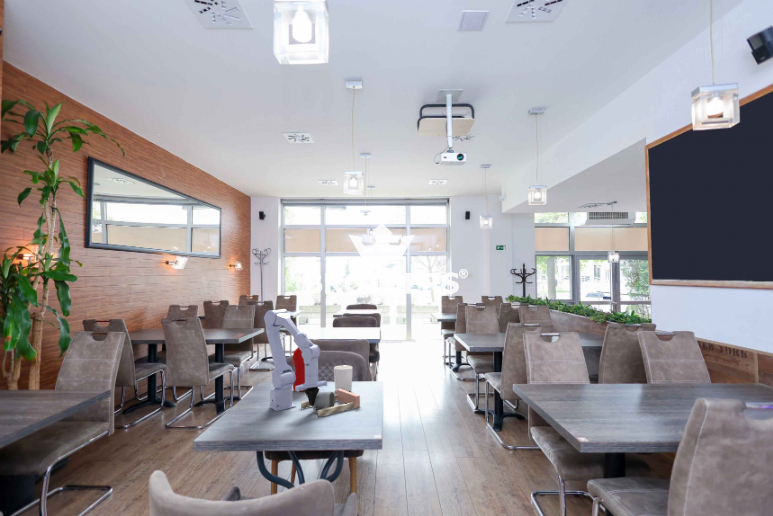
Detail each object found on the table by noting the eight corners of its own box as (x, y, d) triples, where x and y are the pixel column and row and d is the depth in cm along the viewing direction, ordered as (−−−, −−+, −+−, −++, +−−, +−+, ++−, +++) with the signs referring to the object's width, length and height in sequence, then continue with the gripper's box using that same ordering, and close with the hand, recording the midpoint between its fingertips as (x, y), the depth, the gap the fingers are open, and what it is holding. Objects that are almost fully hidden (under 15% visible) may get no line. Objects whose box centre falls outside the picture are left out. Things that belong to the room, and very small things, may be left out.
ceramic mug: (318, 405, 193) (318, 388, 193) (335, 407, 190) (335, 389, 191) (308, 413, 182) (308, 395, 183) (326, 414, 180) (325, 396, 180)
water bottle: (296, 386, 228) (296, 339, 229) (315, 388, 225) (314, 340, 226) (287, 391, 219) (287, 342, 220) (306, 392, 216) (306, 343, 217)
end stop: (356, 407, 189) (356, 396, 189) (336, 400, 202) (336, 389, 202) (359, 406, 190) (359, 395, 190) (340, 399, 203) (340, 388, 203)
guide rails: (319, 417, 177) (319, 410, 177) (301, 408, 190) (301, 402, 190) (356, 407, 189) (356, 402, 189) (336, 400, 202) (336, 394, 202)
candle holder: (356, 391, 216) (355, 367, 217) (338, 394, 211) (338, 370, 212) (348, 387, 225) (347, 364, 225) (330, 390, 220) (330, 366, 220)
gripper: (300, 377, 177) (300, 410, 177) (330, 372, 186) (331, 403, 186) (293, 374, 183) (293, 406, 182) (322, 369, 192) (322, 400, 191)
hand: (311, 405), depth 184 cm, fingers closed
